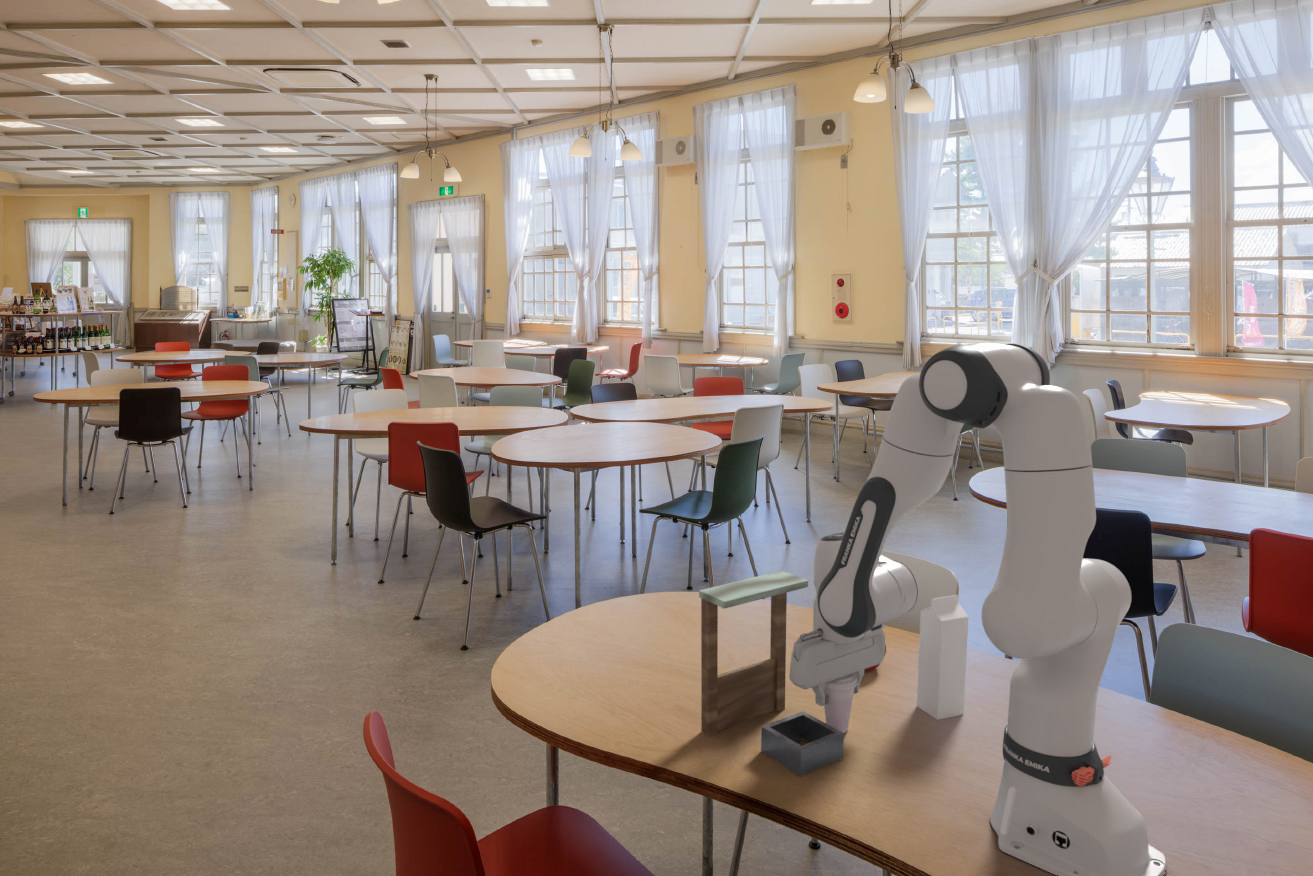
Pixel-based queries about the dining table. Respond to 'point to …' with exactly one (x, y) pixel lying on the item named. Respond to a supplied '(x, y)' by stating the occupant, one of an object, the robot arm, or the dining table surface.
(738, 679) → the green-topped frame
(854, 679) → the smoothie
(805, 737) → the socket
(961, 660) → the milk
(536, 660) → the dining table surface
